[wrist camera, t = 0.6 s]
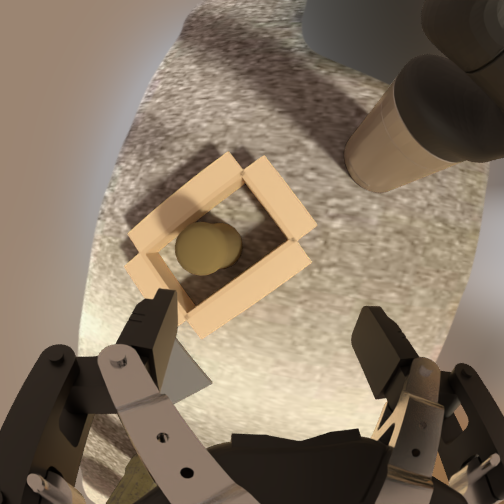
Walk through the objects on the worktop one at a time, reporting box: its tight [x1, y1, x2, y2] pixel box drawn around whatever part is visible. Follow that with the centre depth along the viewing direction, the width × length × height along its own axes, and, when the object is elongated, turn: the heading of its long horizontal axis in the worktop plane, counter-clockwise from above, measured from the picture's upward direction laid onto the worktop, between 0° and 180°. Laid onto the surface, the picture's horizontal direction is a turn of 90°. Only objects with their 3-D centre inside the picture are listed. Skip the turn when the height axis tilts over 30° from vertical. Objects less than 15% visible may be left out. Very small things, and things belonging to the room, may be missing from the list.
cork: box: [175, 222, 243, 276], centre depth 30 cm, size 6×6×11 cm
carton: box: [124, 151, 317, 339], centre depth 34 cm, size 22×16×4 cm
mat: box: [160, 338, 212, 404], centre depth 37 cm, size 11×11×1 cm
